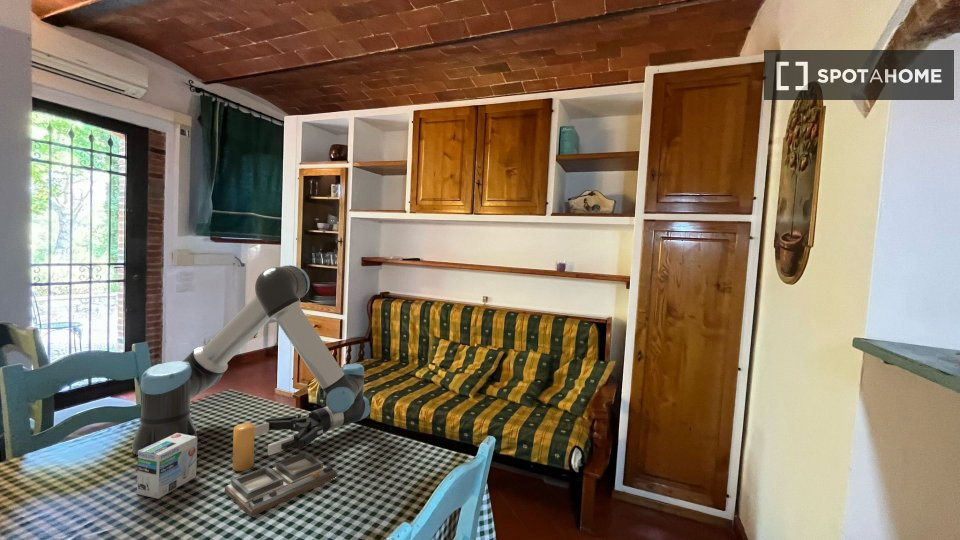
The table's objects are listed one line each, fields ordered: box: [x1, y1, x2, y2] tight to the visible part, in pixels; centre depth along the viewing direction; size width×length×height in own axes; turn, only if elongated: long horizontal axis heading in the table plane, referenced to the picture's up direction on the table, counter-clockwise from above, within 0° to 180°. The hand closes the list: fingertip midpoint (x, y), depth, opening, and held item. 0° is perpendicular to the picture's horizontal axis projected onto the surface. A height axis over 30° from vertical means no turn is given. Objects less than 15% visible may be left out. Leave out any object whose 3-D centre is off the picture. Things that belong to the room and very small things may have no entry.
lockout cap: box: [232, 422, 256, 472], centre depth 113 cm, size 5×5×11 cm
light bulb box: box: [136, 433, 198, 500], centre depth 103 cm, size 11×7×11 cm, turn 168°
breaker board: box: [224, 451, 338, 517], centre depth 106 cm, size 14×22×3 cm, turn 142°
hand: (256, 441), depth 115 cm, fingers open, 13 cm apart
